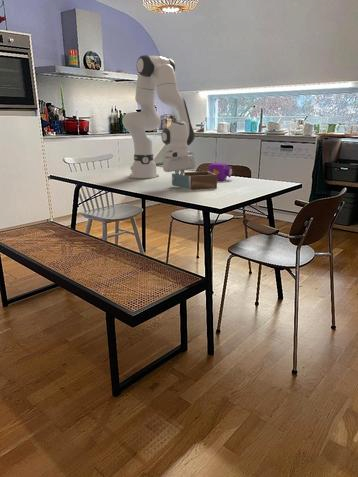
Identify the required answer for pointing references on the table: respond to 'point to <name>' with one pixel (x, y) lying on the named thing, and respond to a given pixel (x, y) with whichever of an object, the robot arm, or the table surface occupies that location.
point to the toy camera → (220, 170)
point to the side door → (181, 181)
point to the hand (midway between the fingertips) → (179, 178)
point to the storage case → (202, 180)
